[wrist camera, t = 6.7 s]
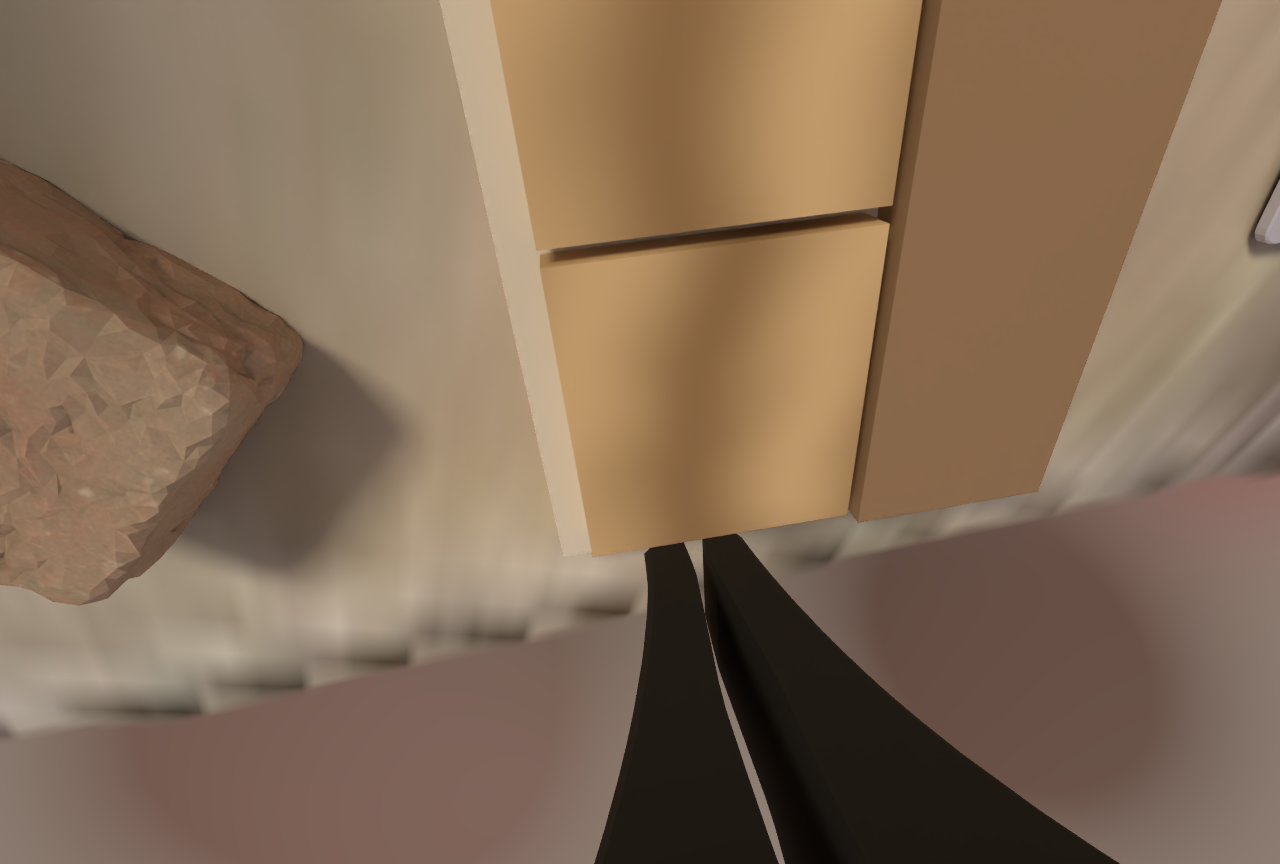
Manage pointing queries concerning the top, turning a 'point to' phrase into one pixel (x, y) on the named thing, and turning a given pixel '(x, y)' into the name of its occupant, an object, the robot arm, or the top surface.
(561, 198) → the plank
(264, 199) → the top surface
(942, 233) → the floor board
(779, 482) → the plank
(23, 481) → the brick
